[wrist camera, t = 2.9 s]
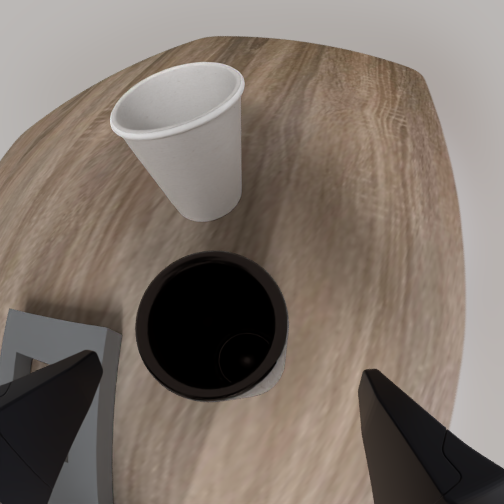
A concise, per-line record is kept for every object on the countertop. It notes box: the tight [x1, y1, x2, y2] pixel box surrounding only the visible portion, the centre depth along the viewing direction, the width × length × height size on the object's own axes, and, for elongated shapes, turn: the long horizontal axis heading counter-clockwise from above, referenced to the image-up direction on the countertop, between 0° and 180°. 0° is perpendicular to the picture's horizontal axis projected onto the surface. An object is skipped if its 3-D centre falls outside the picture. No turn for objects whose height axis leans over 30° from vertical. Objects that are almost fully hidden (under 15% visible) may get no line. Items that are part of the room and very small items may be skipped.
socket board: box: [0, 309, 122, 504], centre depth 14 cm, size 18×12×2 cm, turn 178°
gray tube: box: [135, 251, 289, 402], centre depth 12 cm, size 4×4×10 cm
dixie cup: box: [110, 62, 245, 222], centre depth 19 cm, size 8×8×10 cm
